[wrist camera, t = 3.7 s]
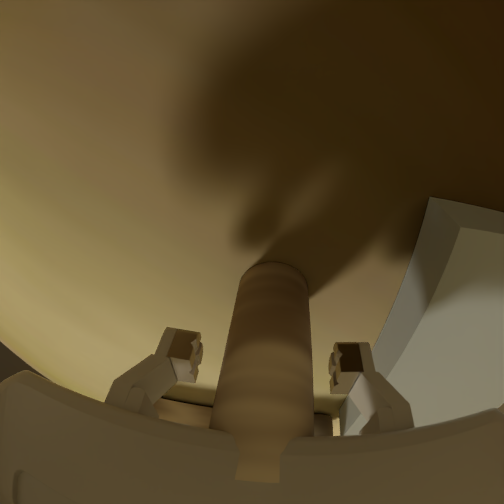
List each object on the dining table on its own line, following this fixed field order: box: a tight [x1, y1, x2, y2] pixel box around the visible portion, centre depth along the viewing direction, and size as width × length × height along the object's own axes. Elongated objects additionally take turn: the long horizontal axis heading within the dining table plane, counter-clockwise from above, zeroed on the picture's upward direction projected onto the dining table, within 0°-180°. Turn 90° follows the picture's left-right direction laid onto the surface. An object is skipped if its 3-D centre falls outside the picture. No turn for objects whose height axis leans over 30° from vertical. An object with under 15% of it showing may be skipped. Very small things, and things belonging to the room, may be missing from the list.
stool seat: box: [339, 197, 504, 436], centre depth 13 cm, size 20×20×6 cm
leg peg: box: [208, 262, 314, 483], centre depth 11 cm, size 4×4×10 cm
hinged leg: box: [153, 398, 333, 437], centre depth 22 cm, size 19×4×4 cm, turn 89°
